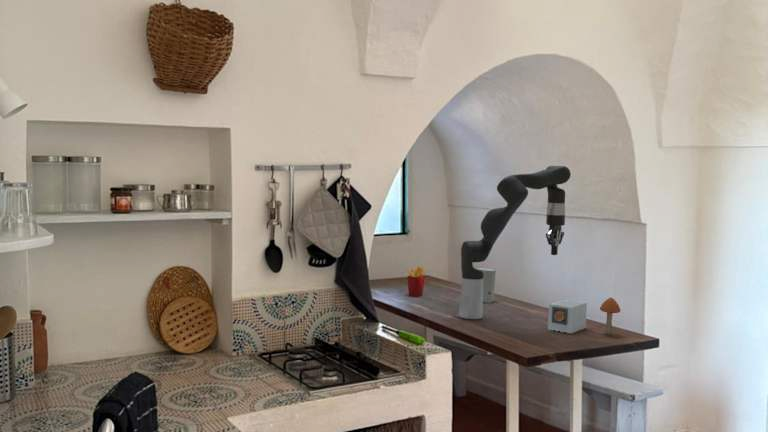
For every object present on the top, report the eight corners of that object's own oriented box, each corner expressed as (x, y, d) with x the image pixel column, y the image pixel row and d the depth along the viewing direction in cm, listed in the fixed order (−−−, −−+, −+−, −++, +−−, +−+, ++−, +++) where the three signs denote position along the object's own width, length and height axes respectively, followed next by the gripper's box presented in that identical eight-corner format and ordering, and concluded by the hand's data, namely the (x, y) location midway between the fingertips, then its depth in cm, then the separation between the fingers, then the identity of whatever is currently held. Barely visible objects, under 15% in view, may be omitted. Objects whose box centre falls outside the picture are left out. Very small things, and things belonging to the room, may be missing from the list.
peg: (563, 321, 304) (564, 311, 303) (554, 320, 306) (554, 310, 306) (576, 317, 313) (577, 307, 313) (567, 315, 316) (568, 306, 315)
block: (570, 333, 302) (571, 307, 301) (547, 329, 309) (548, 304, 308) (585, 327, 314) (586, 302, 313) (563, 324, 320) (564, 299, 319)
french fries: (406, 295, 377) (406, 265, 375) (414, 293, 383) (415, 264, 382) (421, 298, 372) (422, 267, 371) (430, 295, 379) (430, 265, 377)
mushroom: (616, 337, 297) (618, 299, 296) (596, 335, 301) (597, 297, 300) (621, 334, 304) (623, 296, 303) (601, 331, 308) (603, 294, 307)
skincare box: (473, 301, 365) (474, 269, 363) (477, 299, 371) (478, 267, 370) (491, 303, 361) (492, 270, 360) (494, 301, 368) (495, 268, 367)
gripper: (556, 215, 310) (555, 257, 312) (571, 213, 321) (569, 254, 322) (540, 213, 315) (538, 255, 317) (554, 212, 325) (553, 252, 327)
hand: (554, 254), depth 319 cm, fingers closed
